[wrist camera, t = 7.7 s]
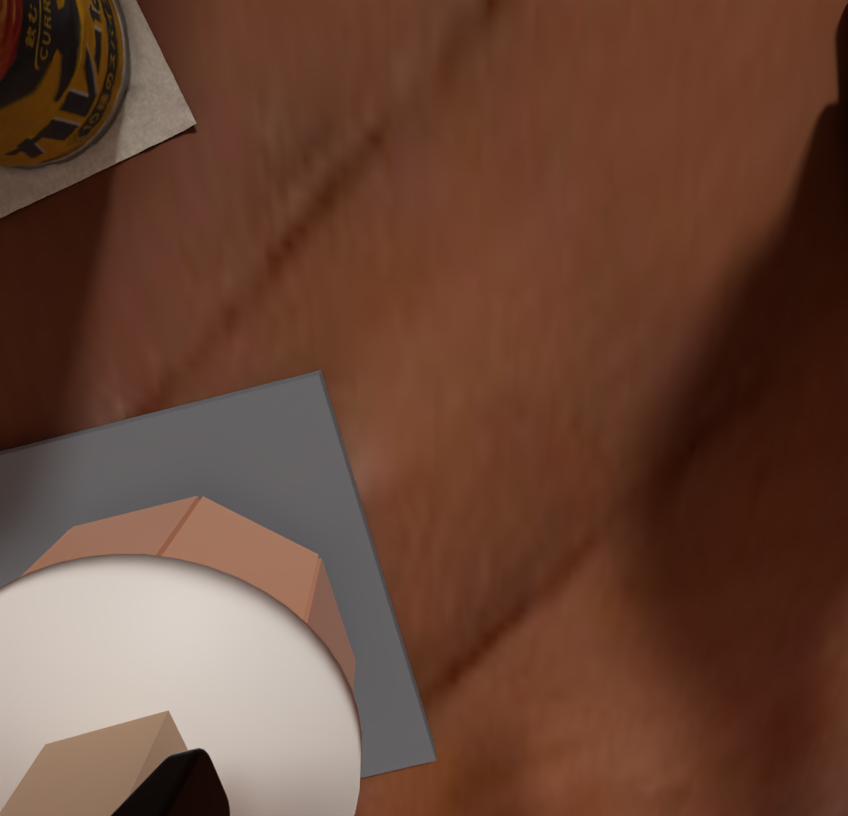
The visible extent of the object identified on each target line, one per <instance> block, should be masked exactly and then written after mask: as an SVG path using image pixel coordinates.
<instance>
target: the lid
mask: <svg viewBox="0 0 848 816" xmlns="http://www.w3.org/2000/svg"><path fill="white" fill-rule="evenodd" d="M195 748H201V749H204V750H205V751H206V752H207V753H208V754H209V756H210V758H211V760H212V762H213V765H214V767H215V769H216V772H217V774H218V776H219V779H220V781H221V783H222V785H223V788H224V790H225V792H226V795H227V798H228V801H229V806H230V816H354V814H355V811H356V805H357V800H358V795H359V788H360V773H361V758H362V731H361V724H360V717H359V711H358V708H357V704H356V701H355V698H354V694H353V691H352V688H351V686H350V684H349V682H348V680H347V678H346V676H345V674H344V672H343V670H342V667H341V666H340V664H339V663H338V661H337V660H336V658H335V657H334V655H333V654H332V652H331V651H330V649H329V648H328V646H327V645H326V644H325V643H324V642H323V640H322V639H321V638H320V637H319V636H318V635H317V634H316V633H315V631H314V630H313V629H312V628H311V627H310V626H309V625H308V624H307V623H306V622H305V621H304V620H302V619H301V618H300V617H299V616H298V615H297V614H295V613H294V612H293V611H292V610H291V609H290V608H289V607H287V606H286V605H284V604H283V603H281V602H280V601H278V600H277V599H275V598H274V597H272V596H271V595H270V594H268V593H267V592H265V591H264V590H262V589H260V588H258V587H256V586H254V585H252V584H250V583H248V582H246V581H244V580H242V579H240V578H238V577H236V576H233V575H231V574H228V573H225V572H223V571H220V570H217V569H215V568H212V567H209V566H206V565H202V564H198V563H194V562H190V561H186V560H182V559H178V558H171V557H163V556H156V555H148V554H107V555H97V556H87V557H81V558H77V559H72V560H68V561H63V562H59V563H55V564H52V565H49V566H46V567H44V568H41V569H38V570H35V571H32V572H30V573H27V574H25V575H23V576H21V577H19V578H17V579H16V580H14V581H12V582H10V583H8V584H6V585H4V586H2V587H1V588H0V816H110V815H111V814H112V813H113V812H114V811H115V810H116V809H117V808H118V807H119V806H120V805H121V804H122V803H123V802H124V801H125V800H126V799H127V798H128V797H129V796H130V795H131V794H132V793H133V792H134V791H135V790H136V789H137V787H138V786H139V785H140V784H141V783H142V782H143V781H144V780H145V779H146V778H147V777H148V776H149V775H150V774H151V773H152V772H153V771H154V770H155V769H156V768H157V767H158V766H159V765H160V764H161V763H162V762H163V761H164V760H165V759H166V758H167V757H168V756H170V755H172V754H174V753H178V752H182V751H187V750H191V749H195Z"/></svg>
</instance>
